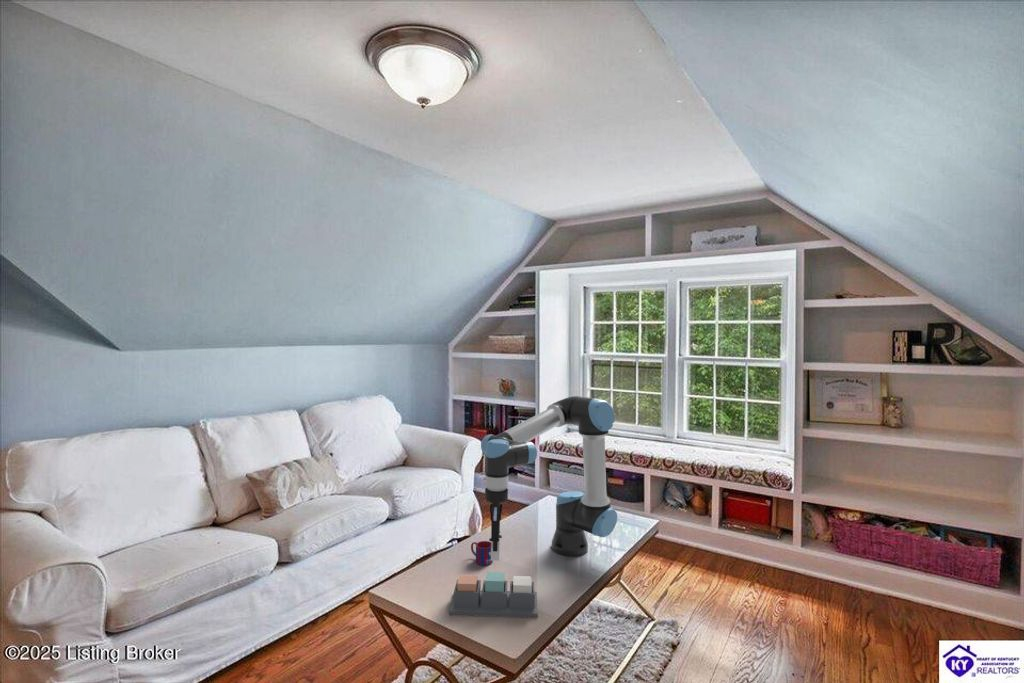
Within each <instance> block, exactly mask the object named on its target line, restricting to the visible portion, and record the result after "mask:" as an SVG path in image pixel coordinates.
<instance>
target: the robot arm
mask: <svg viewBox="0 0 1024 683" xmlns="http://www.w3.org/2000/svg"><path fill="white" fill-rule="evenodd" d="M615 418H616V416H615V412H614V408H613V405H611V404H610V402H608V401H607V400H604V399H600V398H593V397H585V396H579V395H578V396H577V395H574V396H573V395H572V396H569V397H566V398H562V399H560V400H557V401H556V402H554V403H552V404H549V405H548V406H547V407H546V409H545V410H543V411H541V412H539V413H538V414H536V415H534V416H532V417H529V418H528V419H526V420H524V421H521V422H520V423H518V424H516V425H514V426H513V427H510V428H508V429H507V430H504V431H503V432H500V433H499V434H496V435H495V434H487V435H485V436H484V437H483V438H482V440H481V442H480V450H481V451H482V453H483V454H484V455H485V476H484V477H483V480H484V481H485V483H484V484H485V485H484V486H485V489H484V499H485V500H486V502H488V503H490V504H489V505H490V506H489V514H490V517H489V518H490V521H491V523H490V524H491V528H490V529H491V531H490V533H491V534H490V535H491V536H490V538H489V539H488V540H489V542H491V560H493V561H498V562H499V561H500V548H501V547H500V544H501V543H500V541H501V540H500V539H502V538H503V536H502V535H500V533H501V530H500V528H501V520H502V512H503V503H505V502H507V501H508V499H509V488H508V487H509V469H510V468H513V467H514V468H515V467H520V466H526V465H529V464H532V463H534V462H536V460H537V457H538V449H537V447H536V445H535V443H533V442H532V440H534V439H536V438H537V437H539V436H541V435H543V434H545V433H546V432H548V431H551V430H552V429H554V428H561V427H563V426H567V425H574V426H578V434H579V435H580V436H581V437H582V453H583V454H582V458H583V459H582V460H583V484H584V485H583V487H584V488H583V489H584V490H583V491H584V493H583V492H582V491H576V490H575V491H564V492H561V493H559V494H558V495H557V496H556V503H555V505H556V506H555V510H556V511H555V531H554V533H553V536H552V539H551V549H552V551H553V552H555V553H557V554H559V555H562V556H567V557H569V556H570V557H575V556H576V557H577V556H582V555H585V554H586V553H587V552H588V549H589V542H588V540H587V537H586V533H589V534H592V535H593V536H596V537H599V538H606V537H608V536H610V535H611V534H612V533H613V531H614V530H615V528H616V525H617V522H618V513H617V511H616V509H614V508H613V507H612V506H611V499H610V498H609V497H608V496H607V477H606V476H607V475H606V474H607V472H606V471H607V469H606V467H607V466H606V442H605V441H606V436H607V435H608V434H609V430H611V429H612V428H613V427H614V423H615ZM585 532H586V533H585Z"/></svg>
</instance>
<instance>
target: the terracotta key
mask: <svg viewBox="0 0 1024 683" xmlns="http://www.w3.org/2000/svg"><path fill="white" fill-rule="evenodd" d="M478 578H479V576H478V574H459V577H458V579H457V580H458V583H457V591H468V592H477V585H478V580H479V579H478Z"/></svg>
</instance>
